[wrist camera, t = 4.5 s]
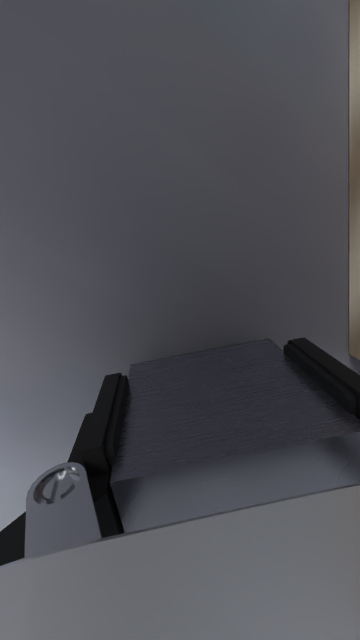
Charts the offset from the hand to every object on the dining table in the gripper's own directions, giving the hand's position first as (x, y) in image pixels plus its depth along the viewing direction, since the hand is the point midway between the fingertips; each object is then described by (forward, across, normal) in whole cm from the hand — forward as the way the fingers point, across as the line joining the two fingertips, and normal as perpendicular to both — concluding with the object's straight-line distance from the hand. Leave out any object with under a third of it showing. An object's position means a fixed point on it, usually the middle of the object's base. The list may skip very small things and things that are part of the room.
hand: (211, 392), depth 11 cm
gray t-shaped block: (+2, 0, +4) cm, 4 cm away
